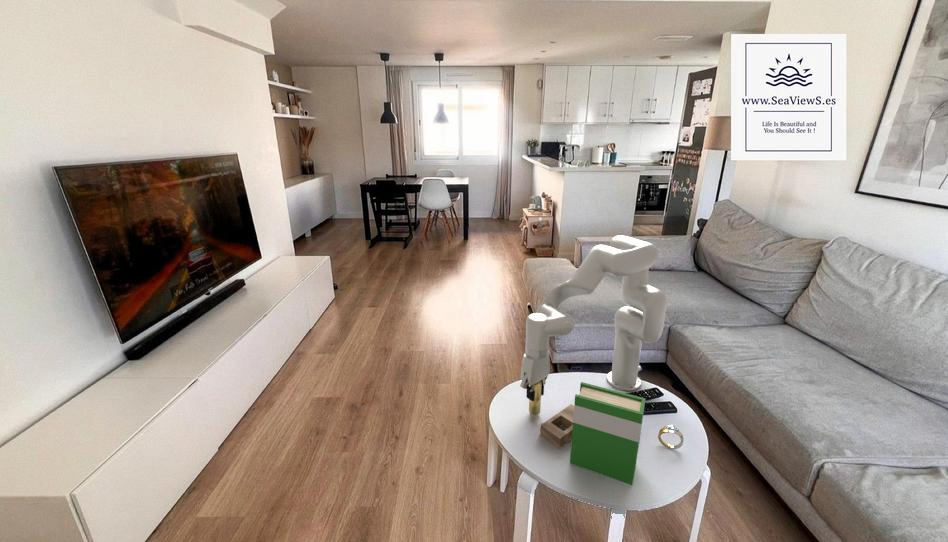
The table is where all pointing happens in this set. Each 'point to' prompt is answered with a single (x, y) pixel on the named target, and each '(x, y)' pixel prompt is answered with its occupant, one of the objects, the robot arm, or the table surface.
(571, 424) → the eye block
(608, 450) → the hardback book
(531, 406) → the peg
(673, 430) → the ring
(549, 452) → the table surface
